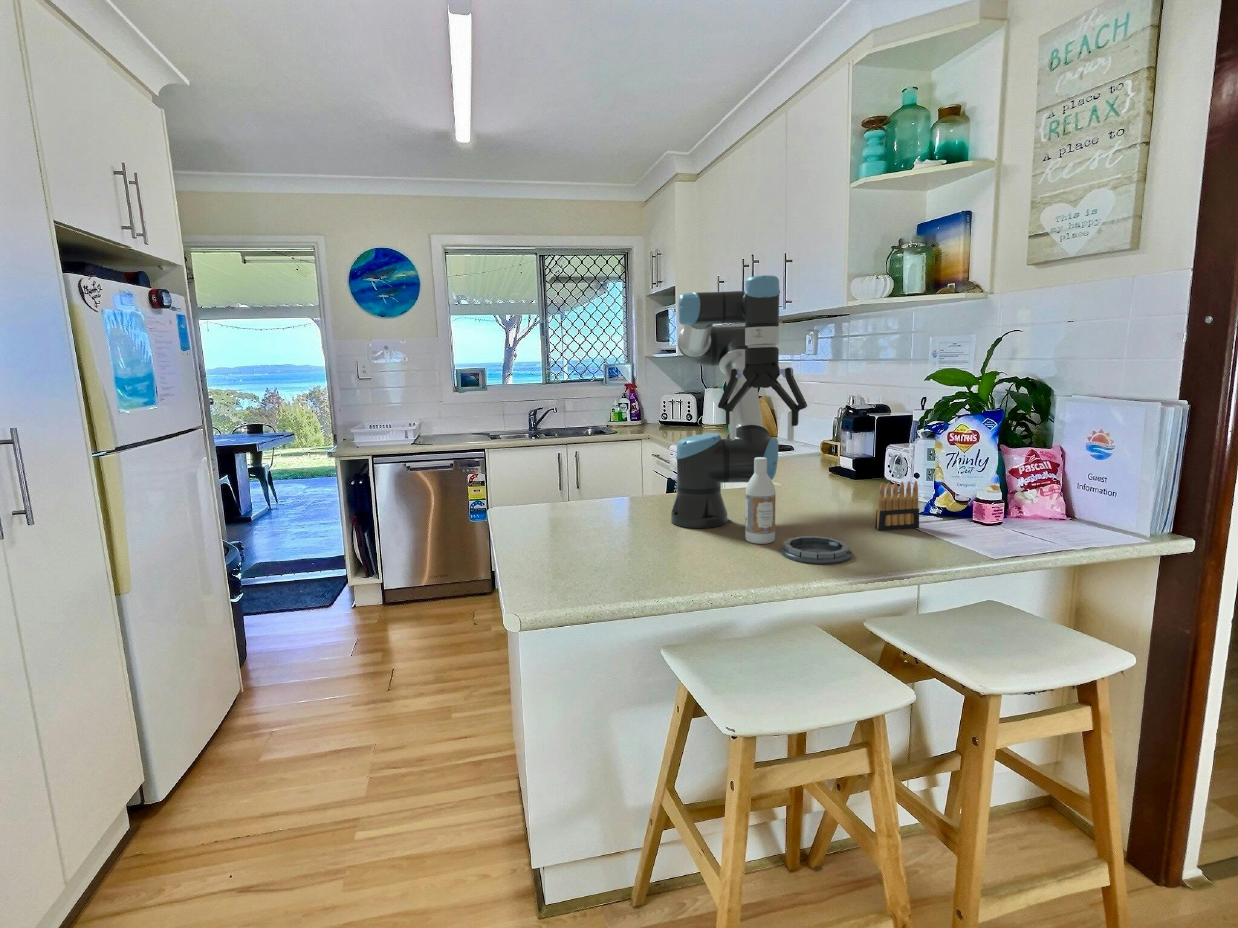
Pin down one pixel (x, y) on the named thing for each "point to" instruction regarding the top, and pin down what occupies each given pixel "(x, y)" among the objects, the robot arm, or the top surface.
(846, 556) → the ring tray
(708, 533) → the top surface
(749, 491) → the bath foam
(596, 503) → the top surface
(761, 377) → the robot arm
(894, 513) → the ammunition clip
